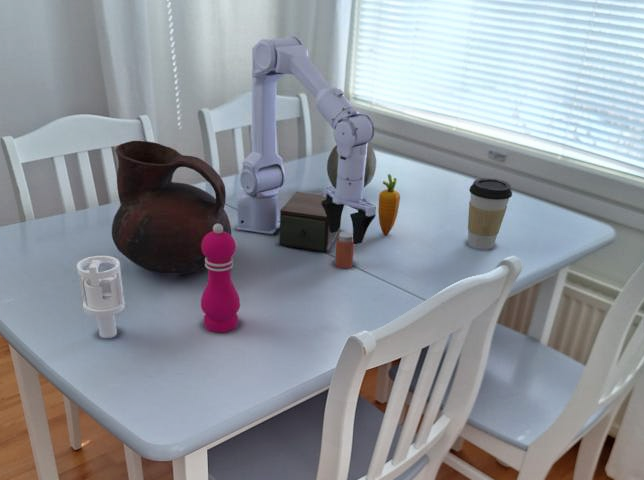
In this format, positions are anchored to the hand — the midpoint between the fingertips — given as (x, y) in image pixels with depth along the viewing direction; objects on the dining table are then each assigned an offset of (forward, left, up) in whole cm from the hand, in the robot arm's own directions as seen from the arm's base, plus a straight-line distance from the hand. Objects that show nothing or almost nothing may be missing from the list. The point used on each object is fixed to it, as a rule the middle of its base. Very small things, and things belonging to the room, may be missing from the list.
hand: (345, 237), depth 147 cm
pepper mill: (-16, -34, -7) cm, 38 cm away
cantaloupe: (-9, +47, -7) cm, 48 cm away
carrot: (+6, +20, -7) cm, 22 cm away
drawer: (-11, +10, -6) cm, 16 cm away
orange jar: (0, 0, -7) cm, 7 cm away
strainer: (-34, -44, -7) cm, 56 cm away
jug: (-35, -13, -7) cm, 38 cm away
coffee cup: (+29, +23, -7) cm, 38 cm away
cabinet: (-11, +12, -7) cm, 18 cm away
